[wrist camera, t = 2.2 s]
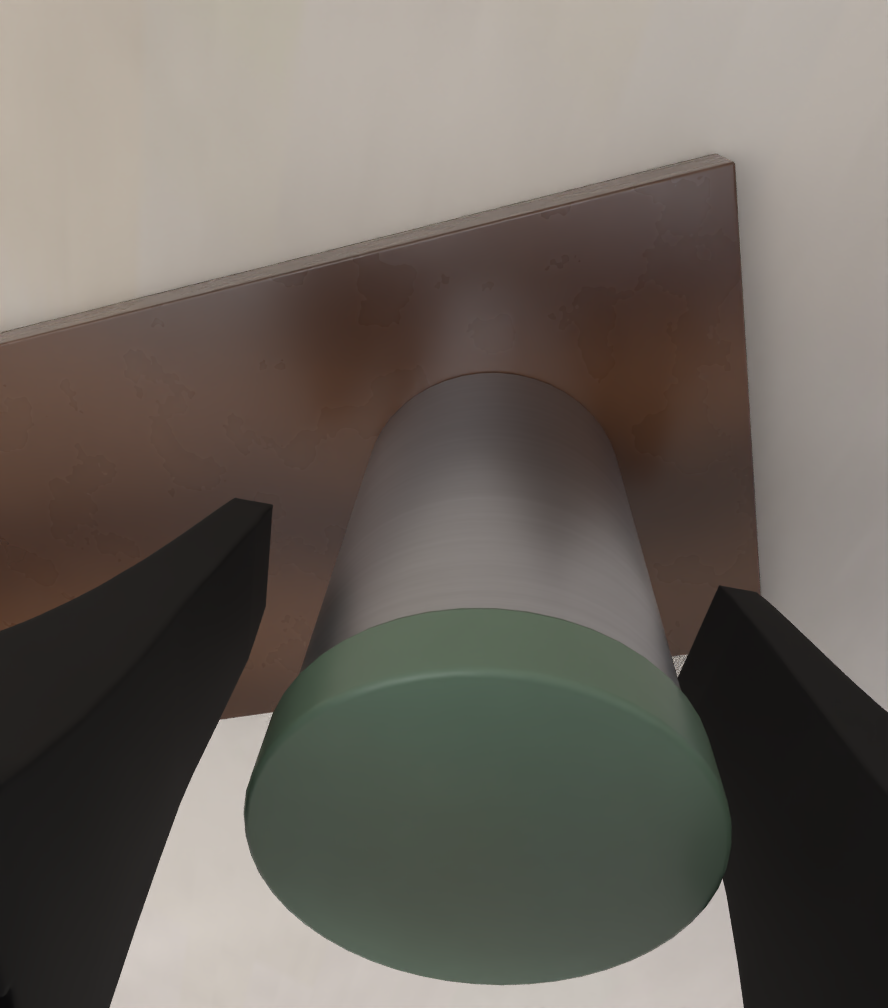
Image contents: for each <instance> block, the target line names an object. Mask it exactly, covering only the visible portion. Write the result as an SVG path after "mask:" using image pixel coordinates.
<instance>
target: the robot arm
mask: <svg viewBox="0 0 888 1008" xmlns="http://www.w3.org/2000/svg"><path fill="white" fill-rule="evenodd" d="M272 511H273V504H267V503H262V502H256V501H251V500H245V499H239V498H233V499H232V500H230V501H229V502H227V503H226V504H224V505H223V506H221V507H220V508H218V509H217V510H215V511H214V512H212V513H211V514H210V515H208V516H207V517H205V518H204V519H203V520H201V521H200V522H198V523H197V524H196V525H194V526H193V527H191V528H190V529H188V530H187V531H186V532H184V533H183V534H181V535H180V536H178V537H177V538H175V539H174V540H172V541H171V542H169V543H168V544H166V545H165V546H163V547H162V548H160V549H159V550H157V551H156V552H154V553H153V554H151V555H150V556H148V557H147V558H145V559H144V560H142V561H140V562H139V563H137V564H135V565H134V566H132V567H130V568H128V569H127V570H125V571H123V572H122V573H120V574H118V575H117V576H115V577H113V578H112V579H110V580H108V581H106V582H105V583H103V584H101V585H100V586H98V587H96V588H94V589H92V590H90V591H88V592H86V593H84V594H82V595H80V596H78V597H77V598H75V599H73V600H71V601H68V602H66V603H64V604H62V605H60V606H58V607H56V608H54V609H51V610H49V611H47V612H45V613H43V614H41V615H39V616H36V617H34V618H32V619H29V620H27V621H25V622H22V623H20V624H17V625H14V626H12V627H9V628H7V629H4V630H1V631H0V1008H109V1007H110V1004H111V1001H112V998H113V995H114V992H115V989H116V986H117V983H118V980H119V977H120V974H121V971H122V968H123V965H124V962H125V959H126V956H127V953H128V950H129V947H130V944H131V941H132V938H133V935H134V932H135V929H136V926H137V923H138V920H139V918H140V915H141V912H142V909H143V906H144V903H145V900H146V897H147V895H148V892H149V889H150V886H151V883H152V880H153V877H154V874H155V872H156V869H157V866H158V863H159V860H160V858H161V855H162V852H163V849H164V847H165V844H166V841H167V838H168V836H169V833H170V830H171V827H172V825H173V822H174V819H175V816H176V814H177V811H178V808H179V805H180V803H181V801H182V798H183V796H184V794H185V791H186V789H187V787H188V784H189V782H190V780H191V777H192V775H193V773H194V771H195V769H196V767H197V765H198V763H199V761H200V759H201V757H202V755H203V753H204V750H205V748H206V746H207V744H208V742H209V740H210V738H211V736H212V734H213V732H214V730H215V728H216V726H217V724H218V722H219V720H220V718H221V715H222V713H223V711H224V709H225V707H226V705H227V703H228V701H229V699H230V697H231V695H232V693H233V691H234V689H235V686H236V684H237V682H238V680H239V678H240V676H241V674H242V672H243V670H244V668H245V665H246V663H247V661H248V659H249V656H250V653H251V650H252V647H253V644H254V641H255V638H256V635H257V632H258V629H259V626H260V623H261V620H262V617H263V614H264V610H265V607H266V596H267V582H268V568H269V553H270V539H271V525H272ZM678 682H679V685H680V689H681V691H682V692H683V693H684V695H685V696H686V697H687V698H688V700H689V701H690V703H691V704H692V706H693V707H694V709H695V711H696V712H697V714H698V715H699V717H700V719H701V721H702V724H703V726H704V728H705V731H706V733H707V735H708V738H709V741H710V744H711V748H712V751H713V754H714V758H715V761H716V764H717V768H718V771H719V774H720V778H721V781H722V784H723V788H724V791H725V794H726V798H727V801H728V806H729V811H730V816H731V821H732V846H731V850H730V855H729V860H728V864H727V869H726V872H725V874H724V876H723V882H724V886H725V890H726V895H727V901H728V907H729V913H730V919H731V925H732V931H733V937H734V943H735V949H736V955H737V961H738V968H739V975H740V983H741V990H742V997H743V1004H744V1008H888V712H887V711H885V710H884V709H883V708H882V707H881V706H880V705H878V704H877V703H876V702H875V701H874V700H873V699H872V698H871V697H869V696H868V695H867V694H866V693H865V692H864V691H863V690H862V689H861V688H859V687H858V686H857V685H856V684H855V683H854V682H853V681H852V680H851V679H850V678H849V677H848V676H846V675H845V674H844V673H843V672H842V671H841V670H840V669H839V668H838V667H837V666H836V665H835V664H834V663H833V662H832V661H831V660H829V659H828V658H827V657H826V656H825V655H824V654H823V653H822V652H821V651H820V650H819V649H818V648H817V647H816V646H815V645H814V644H813V643H812V642H811V641H810V640H809V639H808V638H807V637H805V636H804V635H803V634H802V633H801V632H800V631H799V630H798V629H797V628H796V627H795V626H794V625H793V624H792V623H791V622H790V621H789V620H788V619H787V618H786V617H784V616H783V615H782V614H781V613H780V612H779V611H778V610H777V609H776V608H775V607H774V606H773V605H771V604H770V603H769V602H768V601H767V600H766V599H764V598H763V597H762V596H761V595H759V594H758V593H757V592H754V591H748V590H743V589H737V588H732V587H726V586H721V585H719V587H718V589H717V591H716V593H715V595H714V598H713V600H712V602H711V604H710V607H709V609H708V611H707V613H706V616H705V618H704V620H703V622H702V625H701V627H700V629H699V631H698V634H697V636H696V638H695V640H694V643H693V645H692V647H691V649H690V652H689V654H688V656H687V658H686V660H685V663H684V665H683V667H682V669H681V672H680V674H679V676H678Z"/></svg>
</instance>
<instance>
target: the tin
mask: <svg viewBox="0 0 888 1008" xmlns="http://www.w3.org/2000/svg"><path fill="white" fill-rule="evenodd" d="M244 821H245V833H246V838H247V842H248V845H249V849H250V853H251V856H252V858H253V860H254V862H255V865H256V867H257V869H258V871H259V873H260V875H261V876H262V878H263V879H264V881H265V882H266V884H267V885H268V887H269V888H270V890H271V891H272V893H273V894H274V895H275V896H276V897H277V898H278V899H279V900H280V901H281V902H282V904H283V905H284V906H285V907H286V908H287V909H288V910H289V911H290V912H291V913H293V914H294V915H295V916H296V917H297V918H298V919H300V920H301V921H302V922H303V923H304V924H305V925H307V926H308V927H310V928H311V929H313V930H314V931H316V932H317V933H318V934H320V935H321V936H323V937H324V938H326V939H328V940H329V941H331V942H333V943H335V944H337V945H338V946H340V947H342V948H344V949H346V950H348V951H350V952H352V953H354V954H357V955H359V956H361V957H363V958H366V959H368V960H370V961H373V962H376V963H379V964H381V965H384V966H387V967H390V968H393V969H396V970H400V971H404V972H407V973H411V974H415V975H419V976H423V977H429V978H434V979H439V980H445V981H452V982H461V983H470V984H486V985H521V984H536V983H545V982H555V981H560V980H566V979H571V978H577V977H582V976H585V975H589V974H593V973H597V972H600V971H604V970H607V969H610V968H613V967H615V966H618V965H621V964H624V963H626V962H629V961H631V960H633V959H636V958H638V957H640V956H642V955H644V954H646V953H648V952H650V951H652V950H654V949H655V948H657V947H659V946H660V945H662V944H663V943H665V942H667V941H668V940H670V939H671V938H673V937H674V936H675V935H677V934H678V933H679V932H680V931H682V930H683V929H684V928H685V927H687V926H688V925H689V924H690V923H691V922H692V921H693V920H694V919H695V918H696V917H697V916H698V915H699V914H700V913H701V912H702V910H703V909H704V908H705V907H706V906H707V905H708V903H709V902H710V900H711V899H712V897H713V896H714V894H715V893H716V891H717V890H718V888H719V885H720V883H721V881H722V878H723V876H724V874H725V872H726V869H727V864H728V860H729V855H730V850H731V846H732V821H731V816H730V811H729V806H728V801H727V798H726V794H725V791H724V788H723V784H722V781H721V778H720V774H719V771H718V768H717V764H716V761H715V758H714V754H713V751H712V748H711V744H710V741H709V738H708V735H707V733H706V731H705V728H704V726H703V724H702V721H701V719H700V717H699V715H698V714H697V712H696V711H695V709H694V707H693V706H692V704H691V703H690V701H689V700H688V698H687V697H686V696H685V695H684V693H683V692H682V691H681V689H680V685H679V682H678V678H677V674H676V671H675V667H674V664H673V660H672V656H671V653H670V649H669V646H668V642H667V638H666V635H665V631H664V628H663V624H662V621H661V617H660V613H659V610H658V606H657V603H656V599H655V595H654V592H653V588H652V585H651V581H650V577H649V574H648V570H647V567H646V563H645V560H644V556H643V552H642V549H641V545H640V542H639V538H638V534H637V531H636V527H635V524H634V520H633V516H632V513H631V509H630V506H629V502H628V499H627V495H626V491H625V488H624V484H623V481H622V477H621V473H620V470H619V466H618V463H617V459H616V455H615V453H614V450H613V448H612V445H611V443H610V440H609V438H608V437H607V435H606V433H605V432H604V430H603V428H602V427H601V425H600V424H599V423H598V422H597V420H596V419H595V418H594V417H593V415H592V414H591V413H590V412H589V411H588V410H587V409H586V408H584V407H583V406H582V405H581V404H580V403H579V402H578V401H576V400H575V399H573V398H572V397H571V396H569V395H568V394H566V393H565V392H563V391H561V390H559V389H557V388H555V387H553V386H551V385H549V384H547V383H544V382H541V381H538V380H536V379H533V378H528V377H524V376H520V375H514V374H504V373H479V374H472V375H466V376H461V377H457V378H453V379H450V380H446V381H444V382H441V383H439V384H437V385H434V386H432V387H430V388H428V389H426V390H424V391H423V392H421V393H419V394H418V395H416V396H414V397H413V398H412V399H411V400H409V401H408V402H407V403H406V404H404V405H403V406H402V407H401V408H400V409H399V410H398V411H397V412H396V413H395V414H394V415H393V416H392V417H391V418H390V420H389V421H388V422H387V424H386V425H385V427H384V428H383V429H382V431H381V433H380V435H379V437H378V439H377V440H376V442H375V445H374V447H373V450H372V453H371V456H370V459H369V462H368V465H367V468H366V471H365V474H364V477H363V480H362V484H361V487H360V490H359V493H358V496H357V499H356V502H355V505H354V508H353V511H352V514H351V517H350V520H349V523H348V526H347V529H346V532H345V535H344V539H343V542H342V545H341V548H340V551H339V554H338V557H337V560H336V563H335V566H334V569H333V572H332V575H331V578H330V581H329V584H328V587H327V591H326V594H325V597H324V600H323V603H322V606H321V609H320V612H319V615H318V618H317V621H316V624H315V627H314V630H313V633H312V636H311V639H310V642H309V646H308V649H307V652H306V655H305V658H304V661H303V664H302V667H301V670H300V673H299V675H298V676H297V678H296V679H295V680H294V681H293V682H292V684H291V685H290V686H289V687H288V689H287V690H286V691H285V692H284V694H283V696H282V697H281V699H280V701H279V703H278V705H277V706H276V708H275V710H274V712H273V714H272V717H271V720H270V723H269V726H268V729H267V732H266V735H265V737H264V740H263V743H262V746H261V749H260V752H259V755H258V758H257V761H256V763H255V766H254V769H253V772H252V775H251V778H250V781H249V784H248V787H247V790H246V797H245V805H244Z"/></svg>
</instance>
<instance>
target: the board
mask: <svg viewBox="0 0 888 1008" xmlns="http://www.w3.org/2000/svg"><path fill="white" fill-rule="evenodd" d="M479 373H504V374H514V375H520V376H524V377H528V378H533V379H536V380H538V381H541V382H544V383H547V384H549V385H551V386H553V387H555V388H557V389H559V390H561V391H563V392H565V393H566V394H568V395H569V396H571V397H572V398H573V399H575V400H576V401H578V402H579V403H580V404H581V405H582V406H583V407H584V408H586V409H587V410H588V411H589V412H590V413H591V414H592V415H593V417H594V418H595V419H596V420H597V422H598V423H599V424H600V425H601V427H602V428H603V430H604V432H605V433H606V435H607V437H608V438H609V440H610V443H611V445H612V448H613V450H614V453H615V455H616V459H617V463H618V466H619V470H620V473H621V477H622V481H623V484H624V488H625V491H626V495H627V499H628V502H629V506H630V509H631V513H632V516H633V520H634V524H635V527H636V531H637V534H638V538H639V542H640V545H641V549H642V552H643V556H644V560H645V563H646V567H647V570H648V574H649V577H650V581H651V585H652V588H653V592H654V595H655V599H656V603H657V606H658V610H659V613H660V617H661V621H662V624H663V628H664V631H665V635H666V638H667V642H668V646H669V649H670V653H671V656H678V655H686V654H689V652H690V649H691V647H692V645H693V643H694V640H695V638H696V636H697V634H698V631H699V629H700V627H701V625H702V622H703V620H704V618H705V616H706V613H707V611H708V609H709V607H710V604H711V602H712V600H713V598H714V595H715V593H716V591H717V589H718V587H719V585H721V586H726V587H732V588H737V589H743V590H748V591H754V592H757V593H758V594H759V595H761V589H760V573H759V556H758V539H757V522H756V506H755V489H754V472H753V456H752V439H751V422H750V406H749V389H748V372H747V355H746V339H745V322H744V305H743V289H742V272H741V255H740V238H739V222H738V205H737V188H736V172H735V163H734V162H733V161H731V160H728V159H726V158H724V157H722V156H720V155H718V154H712V155H708V156H704V157H700V158H696V159H692V160H688V161H684V162H680V163H676V164H672V165H668V166H664V167H660V168H656V169H652V170H648V171H644V172H640V173H636V174H632V175H628V176H624V177H620V178H616V179H612V180H608V181H604V182H601V183H597V184H593V185H589V186H585V187H581V188H577V189H573V190H569V191H565V192H561V193H557V194H553V195H549V196H545V197H541V198H537V199H533V200H529V201H525V202H521V203H517V204H513V205H509V206H505V207H501V208H497V209H493V210H489V211H485V212H481V213H477V214H473V215H469V216H465V217H461V218H457V219H453V220H449V221H445V222H441V223H437V224H433V225H429V226H425V227H421V228H417V229H413V230H409V231H405V232H401V233H397V234H393V235H389V236H385V237H381V238H377V239H373V240H369V241H365V242H361V243H357V244H353V245H349V246H345V247H341V248H337V249H333V250H329V251H325V252H321V253H317V254H313V255H309V256H305V257H301V258H297V259H293V260H289V261H286V262H282V263H278V264H274V265H270V266H266V267H262V268H258V269H254V270H250V271H246V272H242V273H238V274H234V275H230V276H226V277H222V278H218V279H214V280H210V281H206V282H202V283H198V284H194V285H190V286H186V287H182V288H178V289H174V290H170V291H166V292H162V293H158V294H154V295H150V296H146V297H142V298H138V299H134V300H130V301H126V302H122V303H118V304H114V305H110V306H106V307H102V308H98V309H94V310H90V311H86V312H82V313H78V314H74V315H70V316H66V317H62V318H58V319H54V320H50V321H46V322H42V323H38V324H34V325H30V326H26V327H22V328H18V329H14V330H10V331H6V332H2V333H0V631H1V630H4V629H7V628H9V627H12V626H14V625H17V624H20V623H22V622H25V621H27V620H29V619H32V618H34V617H36V616H39V615H41V614H43V613H45V612H47V611H49V610H51V609H54V608H56V607H58V606H60V605H62V604H64V603H66V602H68V601H71V600H73V599H75V598H77V597H78V596H80V595H82V594H84V593H86V592H88V591H90V590H92V589H94V588H96V587H98V586H100V585H101V584H103V583H105V582H106V581H108V580H110V579H112V578H113V577H115V576H117V575H118V574H120V573H122V572H123V571H125V570H127V569H128V568H130V567H132V566H134V565H135V564H137V563H139V562H140V561H142V560H144V559H145V558H147V557H148V556H150V555H151V554H153V553H154V552H156V551H157V550H159V549H160V548H162V547H163V546H165V545H166V544H168V543H169V542H171V541H172V540H174V539H175V538H177V537H178V536H180V535H181V534H183V533H184V532H186V531H187V530H188V529H190V528H191V527H193V526H194V525H196V524H197V523H198V522H200V521H201V520H203V519H204V518H205V517H207V516H208V515H210V514H211V513H212V512H214V511H215V510H217V509H218V508H220V507H221V506H223V505H224V504H226V503H227V502H229V501H230V500H232V499H233V498H239V499H245V500H251V501H256V502H262V503H267V504H273V511H272V525H271V539H270V553H269V568H268V582H267V596H266V607H265V610H264V614H263V617H262V620H261V623H260V626H259V629H258V632H257V635H256V638H255V641H254V644H253V647H252V650H251V653H250V656H249V659H248V661H247V663H246V665H245V668H244V670H243V672H242V674H241V676H240V678H239V680H238V682H237V684H236V686H235V689H234V691H233V693H232V695H231V697H230V699H229V701H228V703H227V705H226V707H225V709H224V711H223V713H222V715H221V718H220V719H228V718H235V717H242V716H249V715H256V714H263V713H271V712H274V710H275V708H276V706H277V705H278V703H279V701H280V699H281V697H282V696H283V694H284V692H285V691H286V690H287V689H288V687H289V686H290V685H291V684H292V682H293V681H294V680H295V679H296V678H297V676H298V675H299V673H300V670H301V667H302V664H303V661H304V658H305V655H306V652H307V649H308V646H309V642H310V639H311V636H312V633H313V630H314V627H315V624H316V621H317V618H318V615H319V612H320V609H321V606H322V603H323V600H324V597H325V594H326V591H327V587H328V584H329V581H330V578H331V575H332V572H333V569H334V566H335V563H336V560H337V557H338V554H339V551H340V548H341V545H342V542H343V539H344V535H345V532H346V529H347V526H348V523H349V520H350V517H351V514H352V511H353V508H354V505H355V502H356V499H357V496H358V493H359V490H360V487H361V484H362V480H363V477H364V474H365V471H366V468H367V465H368V462H369V459H370V456H371V453H372V450H373V447H374V445H375V442H376V440H377V439H378V437H379V435H380V433H381V431H382V429H383V428H384V427H385V425H386V424H387V422H388V421H389V420H390V418H391V417H392V416H393V415H394V414H395V413H396V412H397V411H398V410H399V409H400V408H401V407H402V406H403V405H404V404H406V403H407V402H408V401H409V400H411V399H412V398H413V397H414V396H416V395H418V394H419V393H421V392H423V391H424V390H426V389H428V388H430V387H432V386H434V385H437V384H439V383H441V382H444V381H446V380H450V379H453V378H457V377H461V376H466V375H472V374H479Z"/></svg>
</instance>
